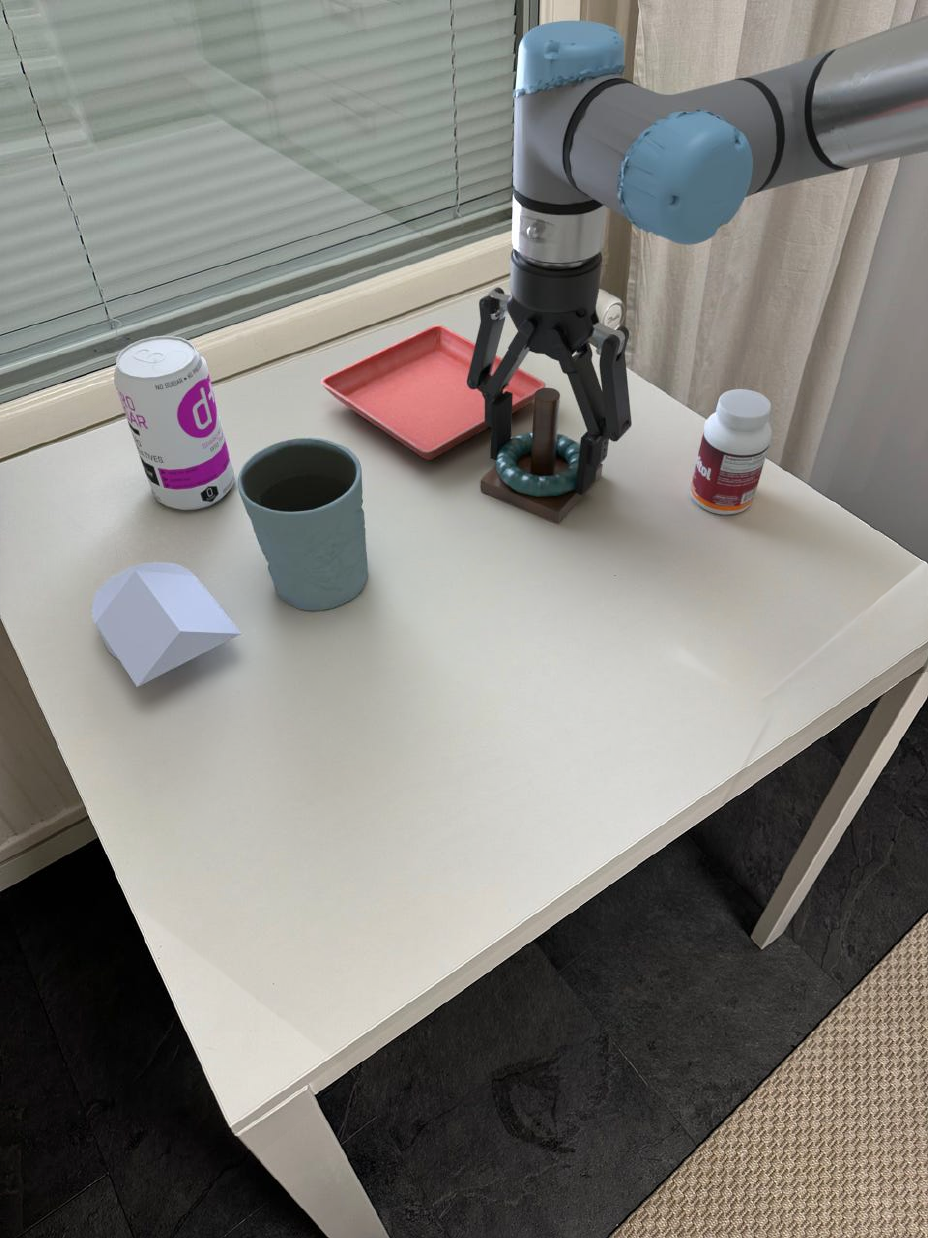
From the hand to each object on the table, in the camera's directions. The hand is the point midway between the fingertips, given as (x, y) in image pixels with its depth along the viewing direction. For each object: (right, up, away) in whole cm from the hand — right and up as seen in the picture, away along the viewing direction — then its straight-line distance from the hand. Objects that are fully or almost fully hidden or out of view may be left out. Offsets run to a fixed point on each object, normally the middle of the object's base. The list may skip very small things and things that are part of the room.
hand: (541, 469), depth 89 cm
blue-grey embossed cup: (-21, -11, -8) cm, 25 cm away
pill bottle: (+18, -3, 0) cm, 18 cm away
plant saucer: (-11, +9, +11) cm, 18 cm away
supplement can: (-35, -2, +1) cm, 35 cm away
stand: (0, -1, +1) cm, 2 cm away
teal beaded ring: (0, +1, -1) cm, 1 cm away
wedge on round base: (-33, -17, -12) cm, 39 cm away
